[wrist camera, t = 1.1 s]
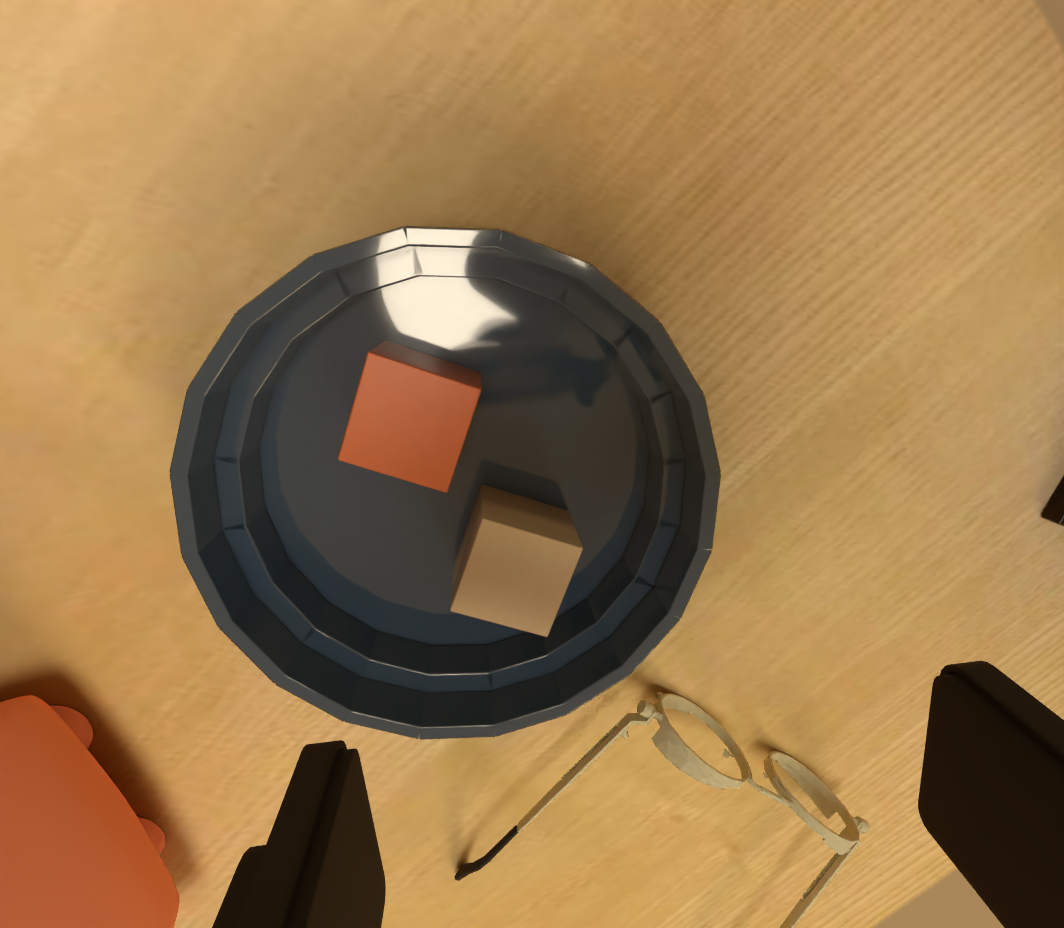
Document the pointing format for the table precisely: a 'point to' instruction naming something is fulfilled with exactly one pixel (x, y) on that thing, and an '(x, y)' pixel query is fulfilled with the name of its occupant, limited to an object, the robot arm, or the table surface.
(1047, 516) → the holder
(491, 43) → the table surface
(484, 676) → the bowl
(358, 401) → the cube
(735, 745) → the eyeglasses
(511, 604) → the cube
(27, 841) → the teapot
